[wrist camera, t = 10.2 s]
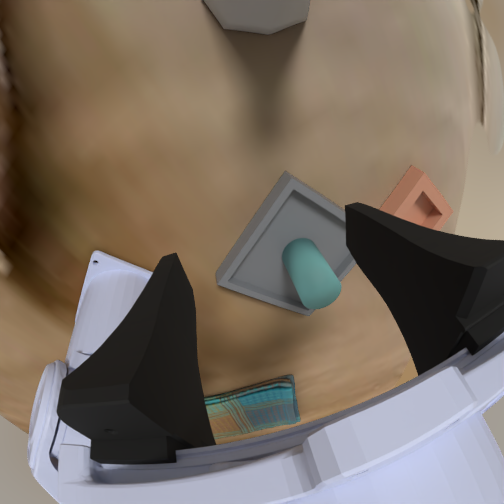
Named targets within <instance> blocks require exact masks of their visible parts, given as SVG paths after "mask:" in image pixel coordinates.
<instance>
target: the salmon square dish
mask: <svg viewBox="0 0 504 504" xmlns="http://www.w3.org/2000/svg"><path fill="white" fill-rule="evenodd" d="M379 210H381V211H384V212H386V213H389V214H391V215H394V216H396V217H399V218H401V219H404V220H406V221H409V222H412V223H415V224H418V225H421V226H424V227H427V228H430V229H434V230H437V231H440V229H441V228H442V226H443V225H444V224H445V222H446V221H447V220H448V218H449V217H450V215H451V214H452V213H453V210H452V209H451V207H450V206H449V204H448V203H447V202H446V200H445V199H444V197H443V196H442V195H441V193H440V192H439V191H438V189H437V188H436V187H435V185H434V184H433V183H432V182H431V180H430V179H429V178H428V176H427V175H426V174H425V173H424V172H423V171H421V170H419V169H417V168H416V167H414V166H412V165H411V167H410V168H409V170H408V171H407V172H406V174H405V175H404V177H403V178H402V179H401V181H400V182H399V184H398V185H397V186H396V188H395V189H394V190H393V192H392V193H391V194H390V196H389V197H388V198H387V200H386V201H385V202H384V204H383V205H382V206H381V208H380V209H379Z"/></svg>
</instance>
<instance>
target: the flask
mask: <svg viewBox="0 0 504 504" xmlns="http://www.w3.org/2000/svg"><path fill="white" fill-rule="evenodd" d="M204 2H205V3H206V4H207V6H208V7H209V9H210V10H211V11H212V13H213V14H214V16H215V17H216V18H217V20H218V21H219V23H220V24H221V26H222V27H223V29H229V30H238V31H246V32H253V33H260V34H266V35H270V34H273V33H275V32H277V31H280V30H282V29H285V28H287V27H290V26H293V25H295V24H298V23H301V22H303V21H306V20H307V16H308V11H309V5H310V0H204Z"/></svg>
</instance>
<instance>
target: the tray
mask: <svg viewBox="0 0 504 504" xmlns="http://www.w3.org/2000/svg"><path fill="white" fill-rule="evenodd" d="M298 238H307V239H310V240H312V241H313V242H314V244H315V245H316V246H317V248H318V249H319V251H320V252H321V254H322V255H323V257H324V258H325V260H326V261H327V263H328V264H329V266H330V267H331V269H332V271H333V272H334V274H335V275H336V277H337V278H338V280H339V281H340V282H341V281H342V279H343V278H344V277H345V276H346V275H347V274H348V273H349V271H350V270H351V269H352V268H353V267H354V266H355V264H356V262H355V260H354V258H353V257H352V255H351V253H350V251H349V249H348V248H347V246H346V221H345V210H344V209H342V208H341V207H339V206H338V205H337V204H335V203H334V202H332V201H331V200H329V199H328V198H326V197H325V196H323V195H322V194H320V193H319V192H317V191H316V190H314V189H313V188H311V187H310V186H308V185H307V184H305V183H304V182H302V181H300V180H299V179H297V178H296V177H294V176H293V175H291V174H289V173H288V172H286V171H285V172H284V173H283V175H282V176H281V178H280V179H279V181H278V182H277V183H276V185H275V186H274V188H273V189H272V191H271V192H270V194H269V195H268V196H267V198H266V199H265V201H264V202H263V204H262V205H261V207H260V208H259V210H258V211H257V212H256V214H255V215H254V217H253V218H252V220H251V221H250V223H249V224H248V226H247V227H246V229H245V230H244V231H243V233H242V234H241V236H240V237H239V239H238V240H237V242H236V243H235V245H234V246H233V248H232V249H231V251H230V252H229V254H228V255H227V257H226V258H225V260H224V261H223V263H222V264H221V266H220V267H219V269H218V270H217V272H216V279H217V285H220V286H222V287H225V288H228V289H231V290H233V291H236V292H239V293H242V294H245V295H248V296H250V297H253V298H256V299H259V300H262V301H265V302H268V303H271V304H273V305H276V306H279V307H282V308H285V309H288V310H291V311H294V312H297V313H300V314H303V315H306V316H310V315H311V314H312V313H313V312H314V310H315V309H309V308H307V307H305V306H304V305H303V303H302V301H301V299H300V297H299V294H298V292H297V290H296V288H295V286H294V284H293V282H292V280H291V277H290V275H289V273H288V271H287V269H286V267H285V265H284V263H283V260H282V253H283V250H284V248H285V247H286V246H287V245H288V244H289V243H290V242H291V241H293V240H295V239H298Z"/></svg>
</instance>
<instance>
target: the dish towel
mask: <svg viewBox="0 0 504 504" xmlns="http://www.w3.org/2000/svg"><path fill="white" fill-rule="evenodd" d="M204 400H205V405H206V409H207V413H208V417H209V421H210V425H211V429H212V433H213V436H214V439H218V438H223V437H229V436H236V435H241V434H246V433H250V432H253V431H258V430H262V429H266V428H272V427H275V426H281V425H290V424H296V422H300V415H299V412H298V406H297V400H296V396H295V383H294V378H293V375H286V376H282V377H278V378H275V379H272V380H268V381H265V382H261V383H258V384H255V385H252V386H249V387H246V388H242V389H239V390H235V391H230V392H227V393H223V394H219V395H214V396H209V397H204Z"/></svg>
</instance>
